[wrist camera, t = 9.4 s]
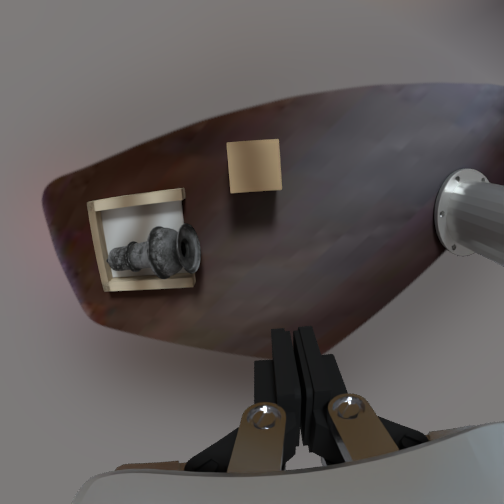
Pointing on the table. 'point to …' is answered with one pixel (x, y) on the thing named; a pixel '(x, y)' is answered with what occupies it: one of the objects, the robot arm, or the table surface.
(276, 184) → the oak block
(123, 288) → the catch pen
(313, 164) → the table surface
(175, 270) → the grey chess piece
